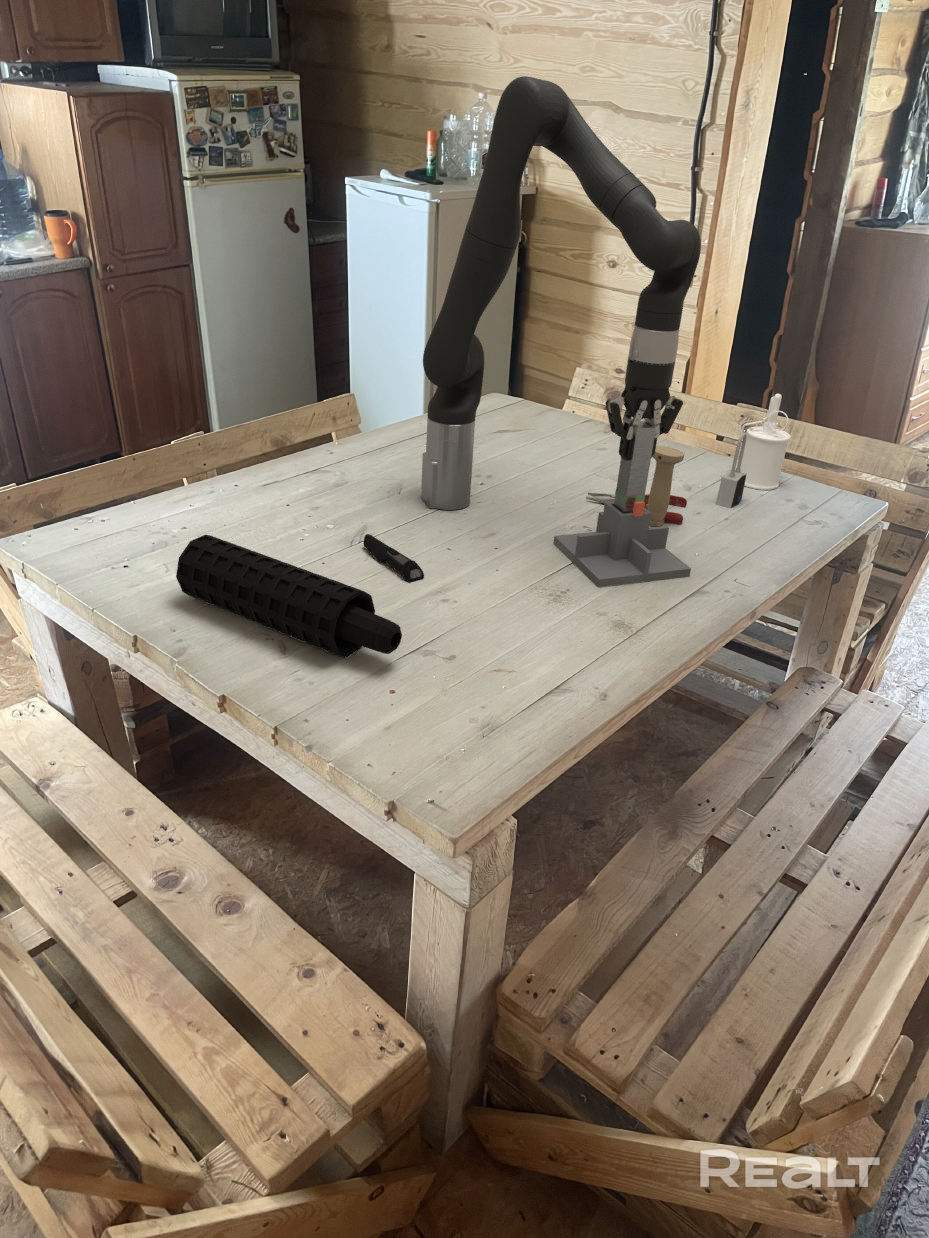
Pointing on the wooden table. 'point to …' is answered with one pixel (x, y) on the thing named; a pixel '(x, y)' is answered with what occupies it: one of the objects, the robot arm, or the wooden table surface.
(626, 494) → the column
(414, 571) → the electric trimmer
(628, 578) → the stand
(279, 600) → the roller
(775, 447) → the white oil can
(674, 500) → the pliers
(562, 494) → the wooden table surface
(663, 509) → the handle
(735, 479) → the padlock
